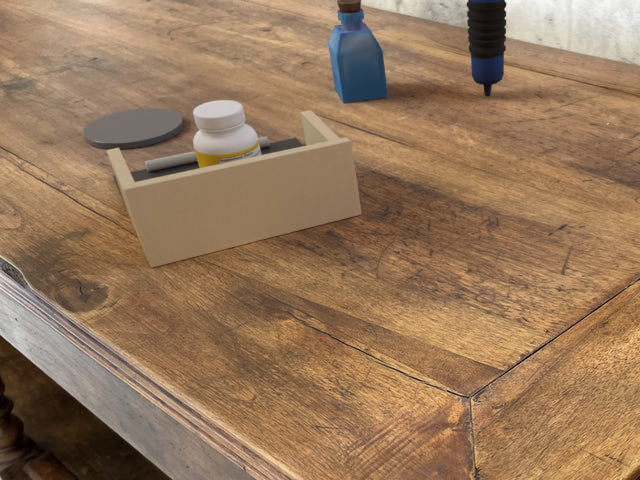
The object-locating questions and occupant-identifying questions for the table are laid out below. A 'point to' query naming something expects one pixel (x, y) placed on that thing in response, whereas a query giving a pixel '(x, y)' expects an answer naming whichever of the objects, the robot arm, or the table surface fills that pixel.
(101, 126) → the trivet
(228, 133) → the pill bottle
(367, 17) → the table surface
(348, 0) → the perfume bottle
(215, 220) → the shallow cardboard crate
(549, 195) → the table surface
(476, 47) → the blue black cylinder
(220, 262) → the table surface
